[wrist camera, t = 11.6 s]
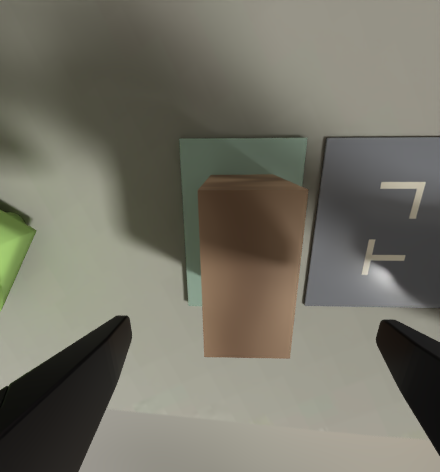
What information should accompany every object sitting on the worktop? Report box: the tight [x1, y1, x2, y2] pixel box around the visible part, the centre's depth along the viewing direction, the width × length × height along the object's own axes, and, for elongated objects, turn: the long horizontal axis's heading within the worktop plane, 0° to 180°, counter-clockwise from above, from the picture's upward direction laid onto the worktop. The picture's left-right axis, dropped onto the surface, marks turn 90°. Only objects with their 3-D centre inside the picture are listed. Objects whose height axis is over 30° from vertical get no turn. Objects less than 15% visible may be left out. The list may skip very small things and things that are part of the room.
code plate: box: [304, 137, 440, 308], centre depth 19 cm, size 12×14×1 cm
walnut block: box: [198, 174, 308, 358], centre depth 15 cm, size 5×9×8 cm, turn 1°
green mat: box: [179, 138, 307, 306], centre depth 19 cm, size 9×14×1 cm, turn 0°
